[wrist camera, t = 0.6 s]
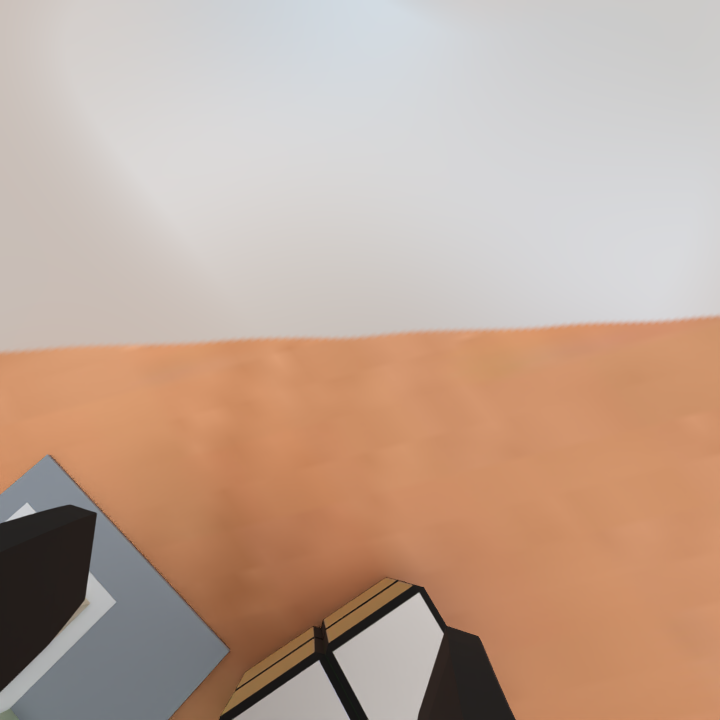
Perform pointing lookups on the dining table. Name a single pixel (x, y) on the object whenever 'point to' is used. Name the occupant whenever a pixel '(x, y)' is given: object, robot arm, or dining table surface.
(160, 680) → the building mat
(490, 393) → the dining table surface
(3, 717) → the green block
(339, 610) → the puzzle cube
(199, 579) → the dining table surface
